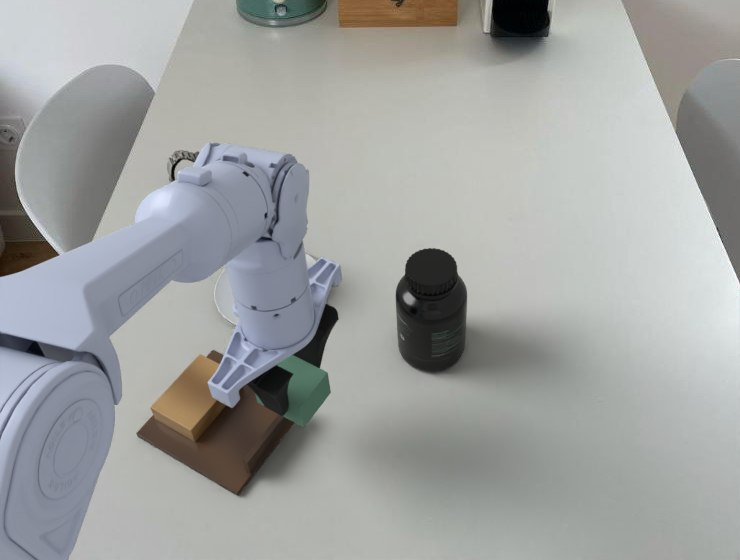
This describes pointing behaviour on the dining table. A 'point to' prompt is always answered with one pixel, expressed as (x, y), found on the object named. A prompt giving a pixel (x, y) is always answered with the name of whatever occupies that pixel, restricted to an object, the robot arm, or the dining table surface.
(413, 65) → the dining table surface
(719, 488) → the dining table surface
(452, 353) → the supplement bottle
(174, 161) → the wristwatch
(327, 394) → the green block
